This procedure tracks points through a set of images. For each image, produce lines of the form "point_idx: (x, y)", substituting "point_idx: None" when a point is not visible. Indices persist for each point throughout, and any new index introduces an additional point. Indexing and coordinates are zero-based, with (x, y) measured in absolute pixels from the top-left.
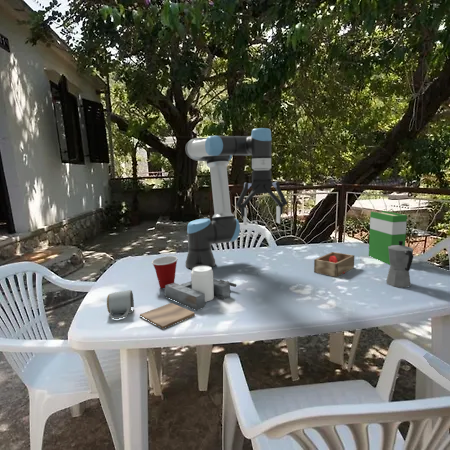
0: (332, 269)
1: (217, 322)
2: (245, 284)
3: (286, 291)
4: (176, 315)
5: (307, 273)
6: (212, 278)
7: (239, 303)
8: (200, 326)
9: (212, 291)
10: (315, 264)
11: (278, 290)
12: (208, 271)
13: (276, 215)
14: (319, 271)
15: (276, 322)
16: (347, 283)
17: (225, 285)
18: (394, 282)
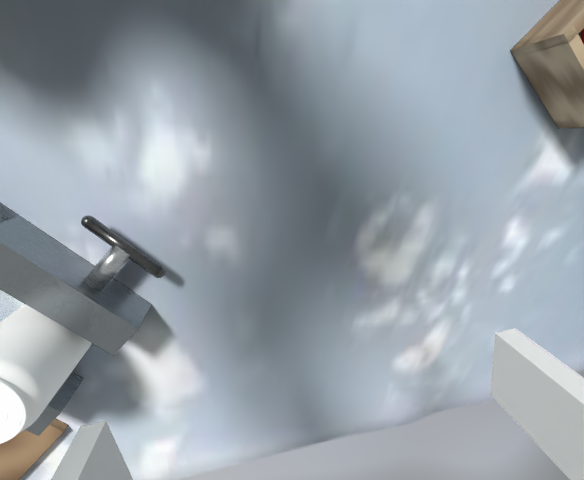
0: (576, 113)
1: (139, 449)
2: (201, 190)
3: (341, 264)
4: (14, 448)
5: (477, 65)
6: (56, 386)
7: (187, 352)
8: None
9: (81, 355)
10: (545, 46)
11: (317, 255)
12: (22, 428)
13: (573, 400)
14: (529, 70)
15: (278, 438)
16: (553, 199)
17: (122, 344)
18: None
